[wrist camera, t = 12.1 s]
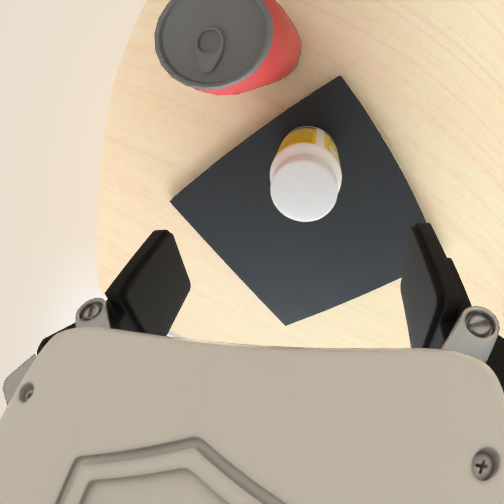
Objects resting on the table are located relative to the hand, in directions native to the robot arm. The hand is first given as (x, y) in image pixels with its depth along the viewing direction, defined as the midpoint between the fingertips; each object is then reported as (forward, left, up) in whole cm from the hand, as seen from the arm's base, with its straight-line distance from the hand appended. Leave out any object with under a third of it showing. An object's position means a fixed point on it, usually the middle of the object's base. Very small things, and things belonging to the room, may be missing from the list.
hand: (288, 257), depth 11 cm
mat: (+6, -4, -16) cm, 18 cm away
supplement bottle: (0, 0, -16) cm, 16 cm away
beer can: (-9, +2, -16) cm, 19 cm away
